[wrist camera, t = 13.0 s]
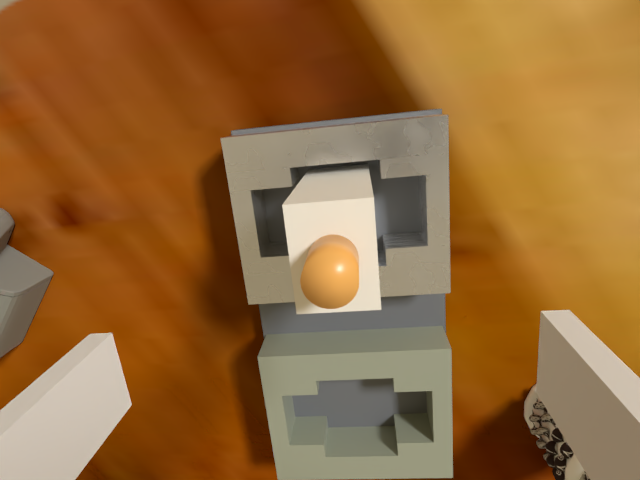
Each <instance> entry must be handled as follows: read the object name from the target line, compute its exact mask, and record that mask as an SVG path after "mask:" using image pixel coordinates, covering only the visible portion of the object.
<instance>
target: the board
mask: <svg viewBox="0 0 640 480" xmlns="http://www.w3.org/2000/svg"><path fill="white" fill-rule="evenodd" d="M431 114H442V109H432V110H422V111H413V112H403V113H393V114H384V115H374V116H365V117H355V118H345V119H336V120H326V121H317V122H307V123H297V124H288V125H278V126H269V127H259V128H250V129H240V130H233V131H231V134H232V135H237V134H247V133H257V132H266V131H276V130H286V129H295V128H305V127H315V126H325V125H334V124H344V123H354V122H363V121H373V120H383V119H392V118H402V117H412V116H422V115H431ZM365 164H368V167H369V173H370V178H371V184H372V189H373V195H374V206H375V221H376V236H377V251H379V250H384V248H383V235H384V234H397V233H411V232H421V222H420V193H419V176H408V177H396V178H385V179H381V177H380V173H379V167H378V160H368V161H357V162H347V163H336V164H325V165H314V166H303V167H297V168H298V176H299V179H298V180H297V181H296V182H295V184H294V185H293V186H292V187H282V188H271V189H262V191H263V198H264V204H265V211H266V218H267V225H268V232H269V239H270V243H275V242H287V238H286V230H285V223H284V215H283V208H282V204H283V203H284V202H285V200H286V199H287V198H288V196H289V195H290V194H291V192H292V191H293V190H294V188H295V187H296V186H297V184H298V183H299V182H300V180H301V179H302V178H303V176H304V175H305V174H306V172H307V171H308V170H310V169H321V168H332V167H343V166H354V165H365ZM259 310H260V316H261V322H262V329H263V335H264V339H265V337H266V334H286V333H307V332H327V331H347V330H368V329H388V328H408V327H429V326H443V328H444V331H445V333H446V322H445V293H442V294H424V295H407V296H389V297H381V310H369V311H350V312H332V313H313V314H296V306H295V302H285V303H268V304H259ZM292 398H293V405H294V412H295V417H305V416H327V422H328V428H329V427H370V426H395V425H394V414H415V413H427V395H426V391H416V392H394V386H393V379H392V378H384V379H357V380H329V381H320V382H319V390H318V395H294V396H292Z"/></svg>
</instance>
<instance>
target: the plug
mask: <svg viewBox="0 0 640 480" xmlns="http://www.w3.org/2000/svg"><path fill="white" fill-rule="evenodd" d="M282 208H283V215H284V223H285V230H286V238H287V246H288V253H289V261H290V268H291V276H292V284H293V291H294V299H295V306H296V314H313V313H332V312H350V311H369V310H381V296H380V281H379V266H378V251H377V236H376V221H375V206H374V195H373V189H372V184H371V178H370V173H369V167H368V164H365V165H354V166H343V167H332V168H321V169H310V170H308V171H307V172H306V174H305V175H304V176H303V178H302V179H301V180H300V182H299V183H298V184H297V186H296V187H295V188H294V190H293V191H292V192H291V194H290V195H289V196H288V198H287V199H286V200H285V202H284V203H283V204H282Z"/></svg>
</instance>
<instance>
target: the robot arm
mask: <svg viewBox="0 0 640 480" xmlns="http://www.w3.org/2000/svg"><path fill="white" fill-rule="evenodd" d="M536 393H537V395H538V396H539V398H540V399H541V401H542V403H543V404H544V406H545V407H546V409H547V411H548V412H549V414H550V416H551V417H552V419H553V420H554V422H555V424H556V425H557V427H558V428H559V430H560V432H561V433H562V435H563V437H564V438H565V440H566V441H567V443H568V445H569V446H570V448H571V449H572V451H573V453H574V454H575V456H576V458H577V459H578V461H579V462H580V464H581V466H582V467H583V469H584V470H585V472H586V474H587V475H588V477H589V479H590V480H640V378H639V377H638V376H637V375H636V374H635V373H634V372H633V371H632V370H631V369H629V368H628V367H627V366H626V365H625V364H624V363H623V362H622V361H621V360H620V359H619V358H618V357H617V356H616V355H615V354H614V353H613V352H612V351H611V350H610V349H609V348H608V347H607V346H606V345H605V344H604V343H603V342H602V341H601V340H600V339H599V338H598V337H597V336H596V335H595V334H593V333H592V332H591V331H590V330H589V329H588V328H587V327H586V326H585V325H584V324H583V323H582V322H581V321H580V320H579V319H578V318H577V317H576V316H575V315H574V314H573V313H572V312H571V311H570V310H554V311H541V316H540V334H539V352H538V370H537V388H536ZM131 405H132V403H131V400H130V396H129V392H128V389H127V385H126V382H125V378H124V374H123V371H122V367H121V364H120V360H119V356H118V353H117V349H116V345H115V342H114V338H113V335H112V333H99V334H89V335H88V336H87V337H86V338H85V339H83V340H82V341H81V342H80V343H79V344H77V345H76V346H75V347H74V348H73V349H72V350H70V351H69V352H68V353H67V354H66V355H65V356H63V357H62V358H61V359H60V360H59V361H58V362H56V363H55V364H54V365H53V366H52V367H50V368H49V369H48V370H47V371H46V372H45V373H43V374H42V375H41V376H40V377H39V378H38V379H36V380H35V381H34V382H33V383H32V384H31V385H29V386H28V387H27V388H26V389H25V390H23V391H22V392H21V393H20V394H19V395H18V396H16V397H15V398H14V399H13V400H12V401H11V402H9V403H8V404H7V405H6V406H5V407H4V408H2V409H1V410H0V480H75V479H76V478H77V477H78V475H79V474H80V473H81V471H82V470H83V469H84V467H85V466H86V465H87V463H88V462H89V461H90V459H91V458H92V457H93V455H94V454H95V453H96V452H97V450H98V449H99V448H100V446H101V445H102V444H103V442H104V441H105V440H106V438H107V437H108V436H109V434H110V433H111V432H112V430H113V429H114V428H115V426H116V425H117V424H118V422H119V421H120V420H121V418H122V417H123V416H124V414H125V413H126V412H127V411H128V409H129V408H130V407H131Z"/></svg>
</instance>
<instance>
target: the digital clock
mask: <svg viewBox="0 0 640 480" xmlns="http://www.w3.org/2000/svg"><path fill="white" fill-rule="evenodd" d="M14 225H15V223H14V220H13V218H12V217H11V215H10V214H9V213H8V212H7V211H5V210H4V209H2V208H0V357H2V356H3V355H5V354H6V353H8V352H9V351H10V350H12V349H13V348H15V347H16V346H17V345H19V344H20V343H22V341H23V339H24V337H25V335H26V333H27V330H28V328H29V326H30V324H31V322H32V320H33V317H34V315H35V313H36V311H37V309H38V307H39V304H40V302H41V300H42V298H43V296H44V294H45V291H46V289H47V287H48V285H49V283H50V281H51V278H52V276H53V272H52V271H51V270H50V269H48V268H46V267H45V266H43V265H41V264H39V263H38V262H36V261H34V260H33V259H31V258H29V257H28V256H26V255H24V254H22V253H21V252H19V251H17V250H16V249H14V248H12V247H11V246H9V245H7V243H8V241H9V238H10V236H11V233H12V231H13V228H14Z"/></svg>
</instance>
